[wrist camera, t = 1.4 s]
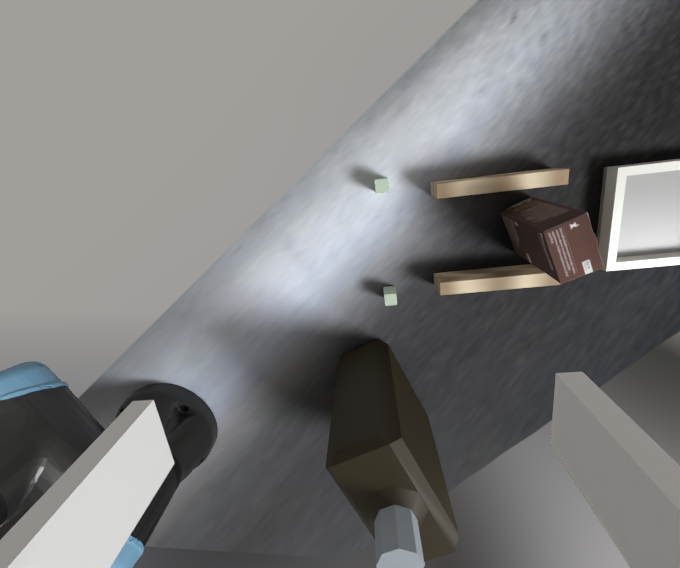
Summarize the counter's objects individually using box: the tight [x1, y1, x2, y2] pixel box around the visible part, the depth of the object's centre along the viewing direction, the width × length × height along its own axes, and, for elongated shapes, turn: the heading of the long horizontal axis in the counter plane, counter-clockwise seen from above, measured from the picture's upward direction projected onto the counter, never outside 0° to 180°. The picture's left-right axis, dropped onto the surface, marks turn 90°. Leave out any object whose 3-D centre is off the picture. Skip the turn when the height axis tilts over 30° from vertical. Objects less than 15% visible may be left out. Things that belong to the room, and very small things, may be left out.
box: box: [500, 197, 603, 284], centre depth 40 cm, size 6×4×12 cm
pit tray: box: [597, 159, 680, 271], centre depth 43 cm, size 12×12×2 cm
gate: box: [374, 178, 397, 306], centre depth 45 cm, size 2×16×3 cm, turn 6°
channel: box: [430, 168, 569, 295], centre depth 44 cm, size 14×13×4 cm
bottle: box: [326, 340, 459, 568], centre depth 42 cm, size 8×16×25 cm, turn 28°
